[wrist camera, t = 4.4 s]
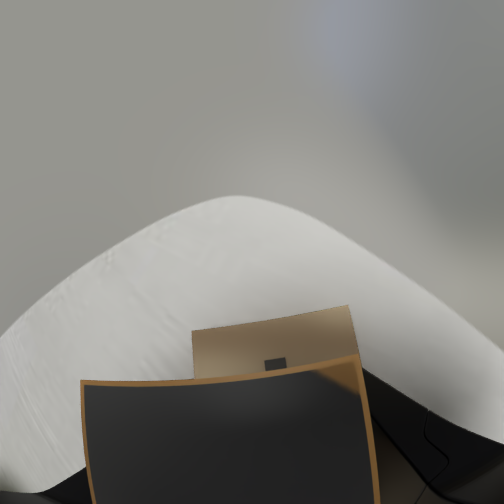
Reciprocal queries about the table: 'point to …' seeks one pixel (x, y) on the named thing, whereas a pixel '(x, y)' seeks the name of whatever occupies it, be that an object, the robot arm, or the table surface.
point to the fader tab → (233, 438)
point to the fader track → (274, 343)
